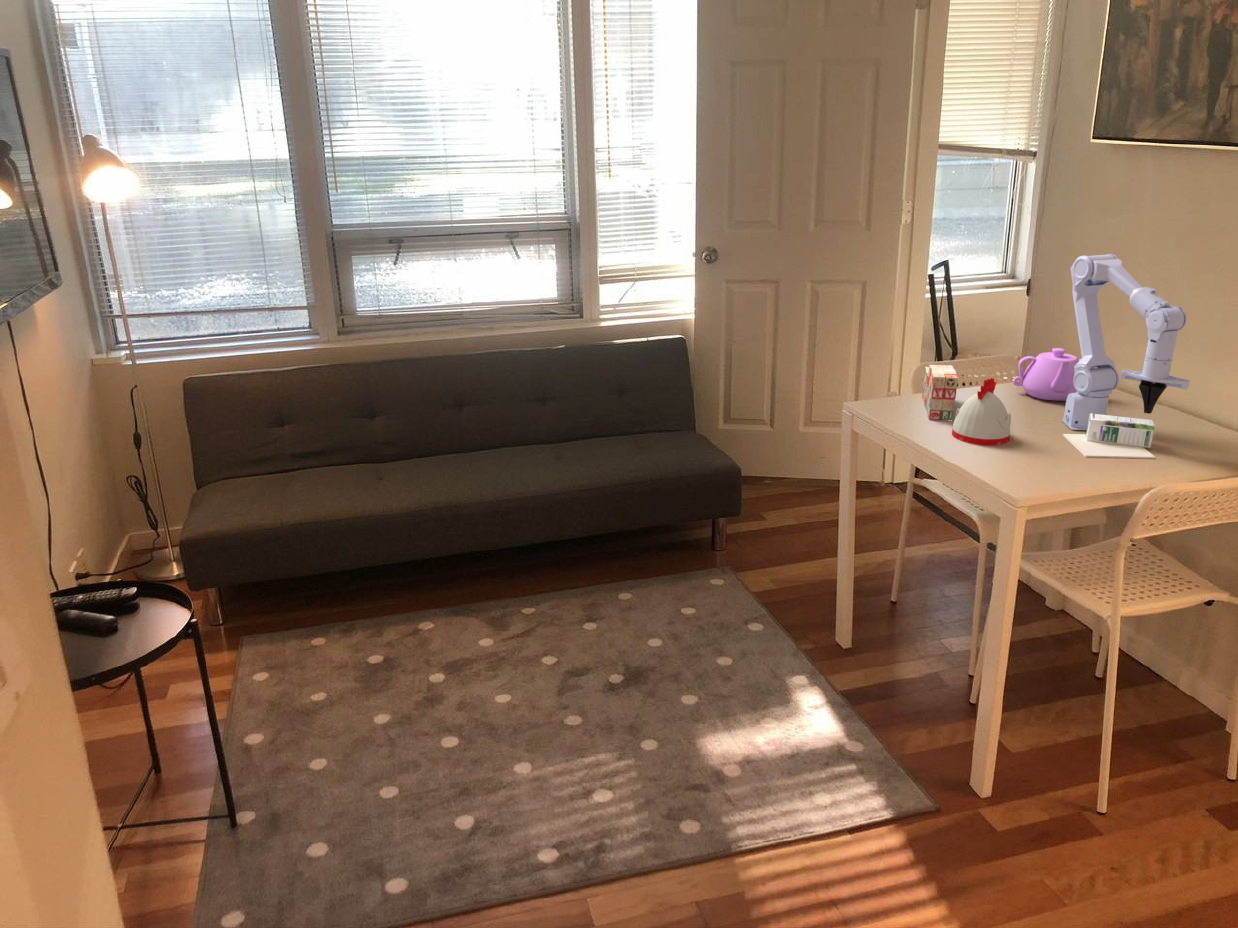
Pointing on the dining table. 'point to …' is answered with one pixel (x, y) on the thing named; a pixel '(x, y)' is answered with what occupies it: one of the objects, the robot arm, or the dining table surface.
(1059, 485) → the dining table surface
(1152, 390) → the robot arm
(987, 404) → the white chicken dome
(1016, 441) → the dining table surface
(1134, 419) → the syrup box
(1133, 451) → the mat
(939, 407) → the stack of blocks
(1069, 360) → the teapot
